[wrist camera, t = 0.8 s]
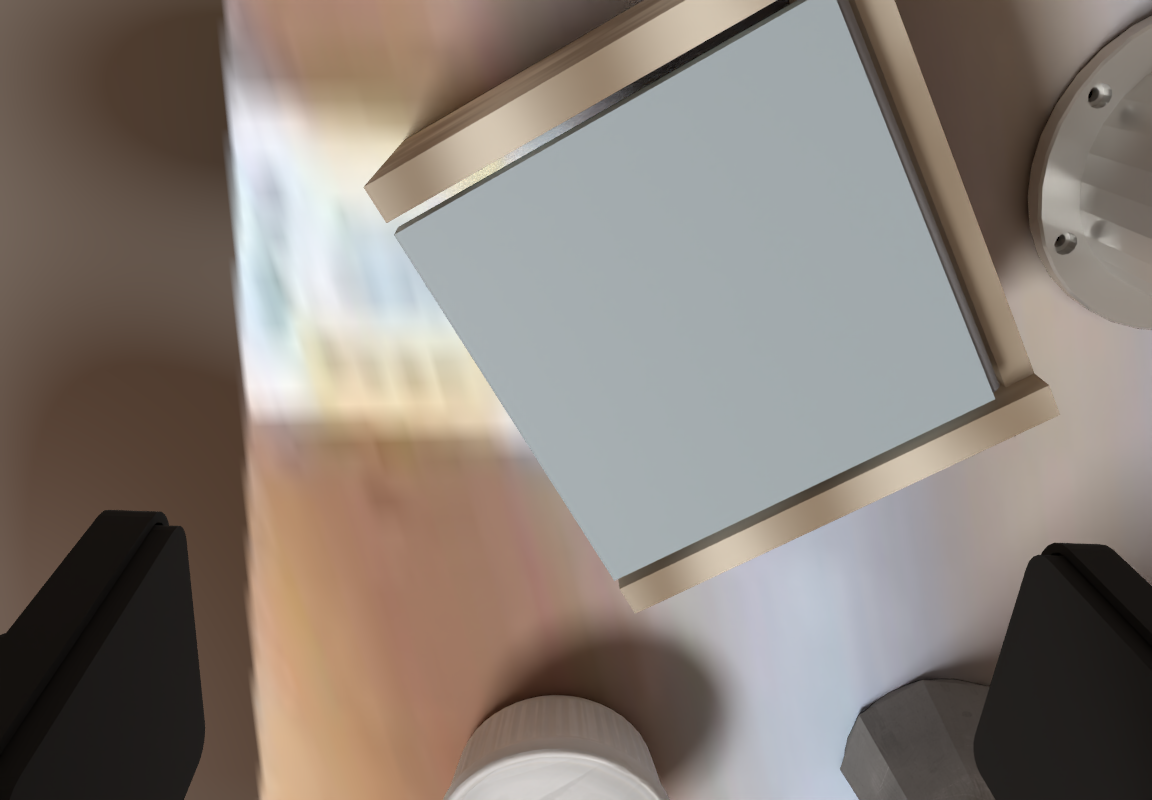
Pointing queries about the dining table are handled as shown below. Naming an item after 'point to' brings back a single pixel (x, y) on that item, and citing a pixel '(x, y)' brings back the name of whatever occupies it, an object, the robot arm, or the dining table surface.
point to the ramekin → (556, 755)
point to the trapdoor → (711, 289)
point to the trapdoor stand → (714, 3)
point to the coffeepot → (918, 744)
